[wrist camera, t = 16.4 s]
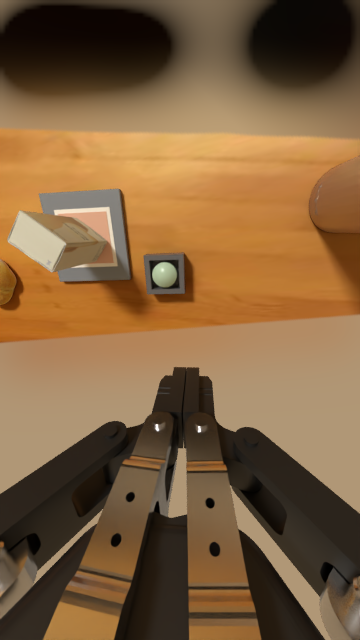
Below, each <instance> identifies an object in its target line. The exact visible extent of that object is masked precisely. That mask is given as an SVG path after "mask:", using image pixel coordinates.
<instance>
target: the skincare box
mask: <svg viewBox="0 0 360 640" xmlns="http://www.w3.org/2000/svg"><path fill="white" fill-rule="evenodd" d="M7 240H8V242H9V243H10V244H12V245H13V246H15V247H16V248H18V249H19V250H20V251H22V252H23V253H25V254H26V255H27V256H29V257H30V258H32V259H33V260H35V261H36V262H38V263H39V264H41V265H42V266H44V267H45V268H46V269H48V270H49V271H51V272H56V271H60V270H63V269H68V268H72V267H75V266H80V265H83V264H88V263H92V262H96V261H97V259H98V258H99V256H100V254H101V253H102V251H103V249H104V247H105V245H106V244H107V240H106V239H104V238H103V237H102V236H101V235H99V234H98V233H97V232H96V231H94V230H93V229H92V228H90V227H89V226H87V225H86V224H85V223H83V222H82V221H80V220H79V219H78V218H74V217H66V216H58V215H51V214H43V213H36V212H28V211H21V210H20V211H19V213H18V216H17V218H16V220H15V222H14V225H13V227H12V229H11V232H10V234H9V237H8V239H7Z"/></svg>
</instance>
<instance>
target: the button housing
mask: <svg viewBox="0 0 360 640" xmlns="http://www.w3.org/2000/svg"><path fill="white" fill-rule="evenodd" d="M164 261H167V262H170V263H172V264H173V265H174V266H175V267H176V269H177V278H176V281H175V282H174V284H173V285H171V286H169V287H160V286H158V285H157V284H156V283H155V282H154V280H153V277H152V272H153V269H154V268H155V266H157V265H158V264H159V263H161V262H164ZM144 265H145V275H146V286H147V294H185V262H184V253H160V254H146V255H144Z"/></svg>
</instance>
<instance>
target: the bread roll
mask: <svg viewBox="0 0 360 640" xmlns="http://www.w3.org/2000/svg"><path fill="white" fill-rule="evenodd" d="M16 282H17V280H16V277H15V275H14V273H13V272H12V271H11V269H10V268H9V267H8V265H7V264H6V263H5V262H4V261H2V260H1V259H0V305H3V304H6V303H7V302H8V301H9V300H10V299H11V297H12V295H13V291H14V288H15V286H16Z"/></svg>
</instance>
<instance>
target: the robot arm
mask: <svg viewBox="0 0 360 640" xmlns="http://www.w3.org/2000/svg"><path fill="white" fill-rule="evenodd" d="M309 211H310V216H311V219H312V221H313V222H314V224H315V225H316V226H317V227H318V228H320V229H321V230H323V231H326V232H331V233H360V156H358V157H355V158H353V159H351V160H349V161H347V162H345V163H343V164H340V165H338V166H336V167H334V168H332V169H331V170H329V171H328V172H327V173H325V174H324V175H323V176H322V178H321V179H320V180H319V181H318V183H317V184H316V185H315V187H314V189H313V192H312V194H311V197H310V202H309ZM212 389H213V388H212V381H211V380H210V379H209V377H208V376H199V368H189V367H188V368H187V369H186V367H174V371H173V376H164V378H163V379H162V380H161V381H160V385H159V389H158V393H157V396H156V400H155V403H154V407H153V411H152V414H150V415H149V416H148V417H147V418H146V420H145V422H144V423H143V424H141V425H138V426H134V427H130V428H126V426H125V424H124V423H122V422H119V421H112V422H108V423H106V424H104V425H103V426H101V427H100V428H98V429H97V430H95V431H94V432H92V433H91V434H89V435H88V436H86V437H85V438H83V439H82V440H80V441H79V442H77V443H76V444H74V445H73V446H72V447H70V448H68V449H67V450H65V451H64V452H62V453H61V454H60V455H58V456H57V457H55V458H54V459H52V460H50V461H49V462H48V463H46V464H44V465H43V466H42V467H40V468H39V469H37V470H36V471H34V472H33V473H31V474H30V475H28V476H27V477H25V478H24V479H22V480H21V481H19V482H18V483H16V484H15V485H13V486H12V487H10V488H9V489H7V490H6V491H4V492H3V493H1V494H0V640H325V639H324V638H323V636H322V635H321V633H320V632H319V630H318V629H317V628H316V626H315V625H314V623H313V622H312V621H311V619H310V618H309V617H308V615H307V614H306V612H305V611H304V609H303V608H302V607H301V605H300V604H299V602H298V601H297V600H296V598H295V597H294V595H293V594H292V592H291V591H290V590H289V588H288V587H287V585H286V584H285V583H284V582H283V580H282V578H281V577H280V576H279V574H278V573H277V571H276V570H275V569H274V567H273V566H272V564H271V563H270V562H269V560H268V559H267V557H266V556H265V554H264V553H263V552H262V551H261V549H260V548H259V547H258V546H257V545H256V543H255V542H254V541H253V540H252V539H250V537H248V536H247V535H246V534H245V533H243V532H242V531H241V530H239V529H238V526H237V521H236V516H235V510H234V504H233V499H232V494H231V489H230V485H231V486H232V489H233V491H234V492H235V494H236V495H237V496H238V497H239V498H240V500H241V501H242V502H243V503H244V505H245V506H246V507H247V508H248V510H249V511H250V512H251V513H252V514H253V516H254V517H255V518H256V519H257V521H258V522H259V523H260V524H261V525H262V527H263V528H264V529H265V530H266V531H267V533H268V534H269V535H270V536H271V538H272V539H273V540H274V541H275V543H277V545H278V546H279V547H280V549H281V550H282V551H283V552H284V553H285V555H286V556H287V557H288V558H289V560H290V561H291V562H292V563H293V565H294V566H295V567H296V568H297V570H298V571H299V572H300V573H301V574H302V576H303V577H304V578H305V579H306V581H307V582H308V583H309V584H310V585H311V587H312V588H313V589H314V590H315V592H316V593H317V594H318V595H319V596H320V604H319V605H320V612H321V617H322V620H323V623H324V626H325V628H326V630H327V632H328V634H329V636H330V638H331V640H360V514H359V513H358V512H357V511H356V510H354V509H353V508H352V507H351V506H350V505H348V504H347V503H346V502H345V501H343V500H342V499H341V498H340V497H339V496H338V495H336V494H335V493H334V492H333V491H332V490H330V489H329V488H328V487H327V486H325V485H324V484H323V483H322V482H320V481H319V480H318V479H317V478H316V477H315V476H313V475H312V474H311V473H310V472H309V471H307V470H306V469H305V468H304V467H302V466H301V465H300V464H299V463H298V462H297V461H295V460H294V459H293V458H292V457H290V456H289V455H288V454H287V453H286V452H284V451H283V450H282V449H281V448H280V447H278V446H277V445H276V444H275V443H274V442H272V441H271V440H270V439H269V438H268V437H266V436H265V435H264V434H263V433H261V432H260V431H259V430H257V429H254V428H250V427H244V428H240V429H238V430H237V431H236V432H233V431H230V430H228V429H225V428H223V427H222V426H221V425H219V424H218V422H217V421H216V419H215V414H214V401H213V390H212ZM183 442H184V448H186V456H187V467H186V469H187V515H183V516H178V517H174V518H169V517H168V510H169V502H170V497H171V491H172V486H173V481H174V475H175V470H176V460H177V455H178V448H183ZM102 509H103V511H102V513H101V516H100V518H99V520H98V523H97V524H96V525H94V526H93V527H91V528H90V529H89V530H88V531H87V532H85V533H84V534H83V536H81V537H80V538H79V539H78V540H77V541H76V542H75V543H74V544H73V546H72V547H71V548H70V549H69V550H68V551H67V552H66V553H65V554H64V555H63V556H62V557H61V558H60V559H59V560H58V561H57V562H56V563H55V564H54V565H53V566H52V567H51V568H50V569H49V570H48V571H47V572H46V573H45V574H44V575H43V576H42V577H41V578H40V579H39V580H38V581H37V582H36V583H35V584H34V585H33V583H34V581H35V578H36V574H37V571H38V570H39V569H40V568H41V567H42V566H43V565H44V564H45V563H46V562H47V561H48V560H49V559H51V557H52V556H54V555H55V554H56V553H57V552H58V551H59V550H60V549H61V548H62V547H63V546H64V545H65V544H66V543H67V542H68V541H69V540H70V539H71V538H73V537H74V536H75V535H76V534H77V533H78V532H79V531H80V530H81V529H82V528H83V527H84V526H85V525H86V524H87V523H88V522H90V521H91V520H92V519H93V518H94V517H95V516H96V515H97V514H98V513H99V512H100V511H101V510H102Z"/></svg>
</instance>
